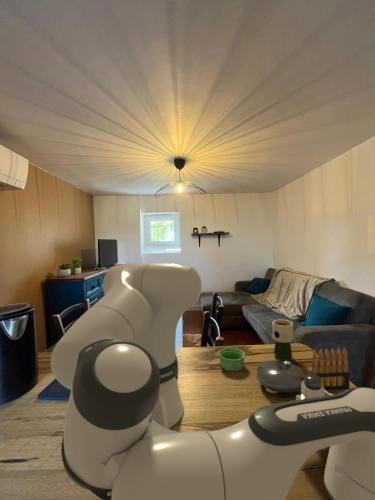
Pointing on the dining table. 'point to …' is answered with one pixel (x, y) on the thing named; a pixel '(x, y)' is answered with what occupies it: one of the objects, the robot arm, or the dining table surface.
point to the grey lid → (280, 376)
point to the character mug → (282, 338)
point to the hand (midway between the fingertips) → (310, 395)
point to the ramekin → (231, 359)
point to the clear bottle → (312, 386)
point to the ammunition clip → (331, 369)
